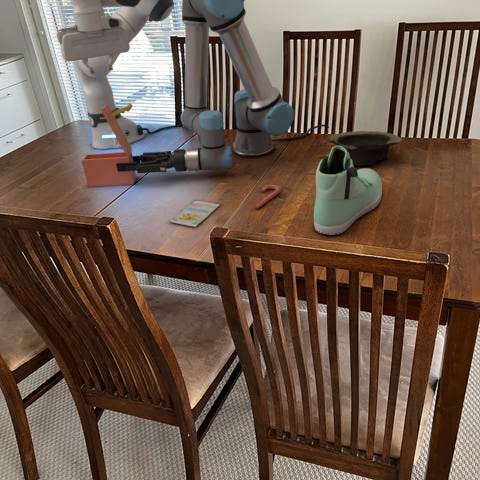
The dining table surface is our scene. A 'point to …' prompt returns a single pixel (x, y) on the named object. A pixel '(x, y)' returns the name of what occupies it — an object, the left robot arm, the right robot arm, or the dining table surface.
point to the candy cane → (262, 202)
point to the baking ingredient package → (194, 213)
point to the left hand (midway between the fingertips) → (101, 71)
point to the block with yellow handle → (117, 126)
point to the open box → (107, 169)
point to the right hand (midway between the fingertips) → (119, 164)
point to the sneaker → (343, 192)
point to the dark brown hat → (366, 145)
